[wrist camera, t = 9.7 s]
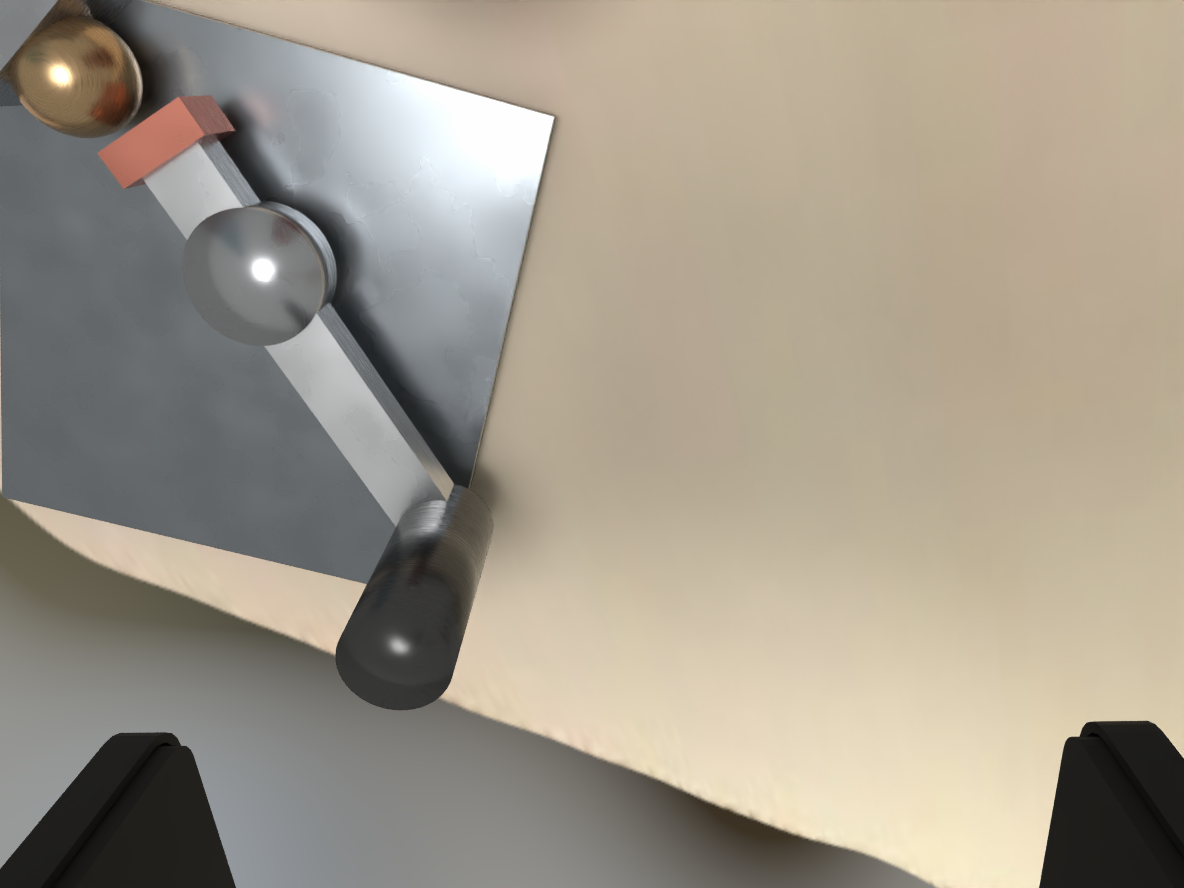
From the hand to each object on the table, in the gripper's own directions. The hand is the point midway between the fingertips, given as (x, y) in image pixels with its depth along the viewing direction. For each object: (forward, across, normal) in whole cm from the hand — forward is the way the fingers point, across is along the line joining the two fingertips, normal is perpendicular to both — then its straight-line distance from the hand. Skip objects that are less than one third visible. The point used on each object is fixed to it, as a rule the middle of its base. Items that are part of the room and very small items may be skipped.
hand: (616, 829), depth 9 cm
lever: (+22, +11, +1) cm, 24 cm away
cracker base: (+24, +14, -1) cm, 28 cm away
